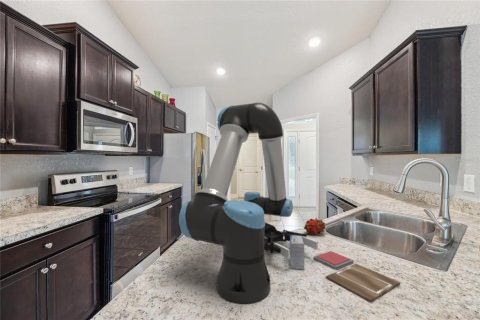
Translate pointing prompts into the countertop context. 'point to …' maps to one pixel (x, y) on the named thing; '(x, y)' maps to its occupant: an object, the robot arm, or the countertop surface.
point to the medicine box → (297, 252)
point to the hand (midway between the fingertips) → (303, 249)
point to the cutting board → (363, 282)
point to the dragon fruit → (314, 226)
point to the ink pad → (333, 260)
